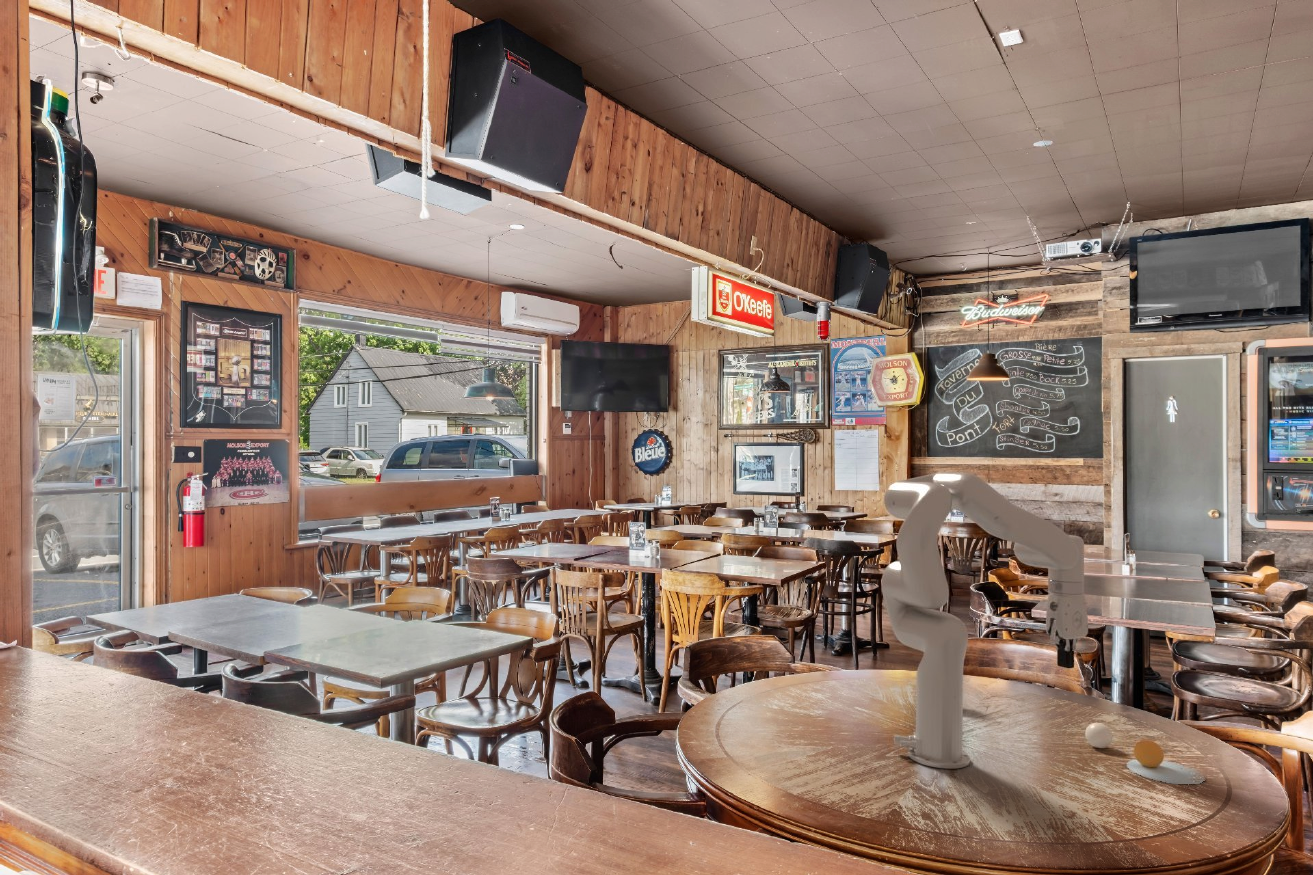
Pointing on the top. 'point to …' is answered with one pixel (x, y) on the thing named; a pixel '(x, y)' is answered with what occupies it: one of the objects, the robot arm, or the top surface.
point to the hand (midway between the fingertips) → (1065, 666)
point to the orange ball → (1148, 753)
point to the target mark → (1166, 772)
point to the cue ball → (1098, 735)
